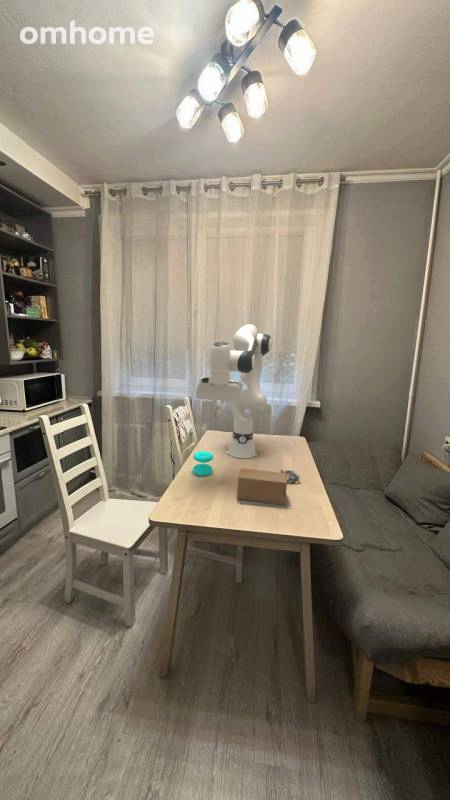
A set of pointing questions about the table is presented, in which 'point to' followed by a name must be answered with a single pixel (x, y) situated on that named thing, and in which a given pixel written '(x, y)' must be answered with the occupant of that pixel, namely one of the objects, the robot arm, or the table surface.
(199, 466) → the donuts
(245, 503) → the rubber mat
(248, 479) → the wooden block
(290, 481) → the egg carton
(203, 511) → the table surface
